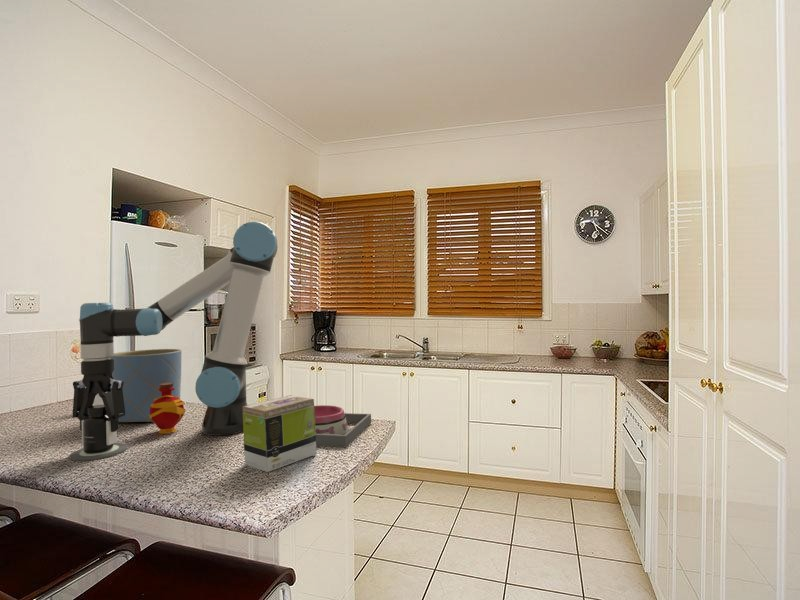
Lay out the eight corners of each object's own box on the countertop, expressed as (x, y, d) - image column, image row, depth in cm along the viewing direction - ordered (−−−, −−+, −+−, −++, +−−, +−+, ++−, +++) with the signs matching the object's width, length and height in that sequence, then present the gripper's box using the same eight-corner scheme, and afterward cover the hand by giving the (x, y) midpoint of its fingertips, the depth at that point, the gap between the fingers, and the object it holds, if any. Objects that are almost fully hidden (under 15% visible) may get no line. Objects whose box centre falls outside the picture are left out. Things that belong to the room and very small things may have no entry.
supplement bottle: (80, 456, 117) (79, 410, 117) (86, 448, 124) (85, 405, 124) (111, 451, 120) (110, 407, 120) (115, 444, 126) (114, 402, 126)
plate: (138, 446, 127) (138, 443, 127) (98, 462, 114) (98, 459, 114) (100, 444, 130) (100, 441, 130) (57, 459, 117) (57, 457, 117)
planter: (136, 410, 173) (135, 349, 173) (194, 409, 172) (193, 348, 172) (94, 426, 150) (92, 356, 150) (160, 425, 149) (158, 355, 149)
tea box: (293, 448, 121) (291, 393, 122) (317, 455, 115) (315, 398, 115) (243, 464, 110) (241, 404, 110) (266, 473, 103) (265, 409, 104)
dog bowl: (361, 429, 139) (361, 407, 139) (319, 446, 124) (318, 421, 124) (318, 421, 149) (317, 401, 149) (274, 436, 134) (273, 413, 134)
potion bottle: (144, 437, 135) (143, 388, 135) (153, 428, 145) (152, 382, 145) (182, 434, 138) (181, 385, 138) (189, 425, 148) (188, 380, 148)
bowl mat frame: (371, 423, 145) (370, 413, 145) (346, 446, 121) (345, 435, 121) (302, 420, 150) (301, 411, 150) (265, 443, 127) (265, 432, 127)
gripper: (140, 357, 124) (142, 439, 124) (77, 357, 127) (79, 438, 127) (119, 360, 117) (121, 448, 117) (53, 361, 120) (55, 446, 120)
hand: (99, 443), depth 122 cm, fingers closed on supplement bottle, 7 cm apart
